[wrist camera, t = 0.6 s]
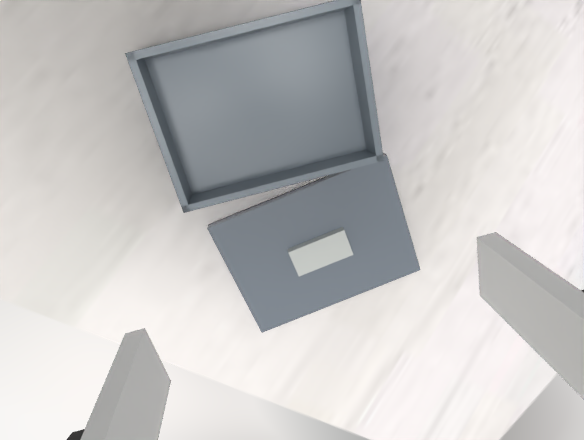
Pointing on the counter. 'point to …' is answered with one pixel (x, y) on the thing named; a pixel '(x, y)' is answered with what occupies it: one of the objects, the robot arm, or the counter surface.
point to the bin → (262, 103)
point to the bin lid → (317, 244)
